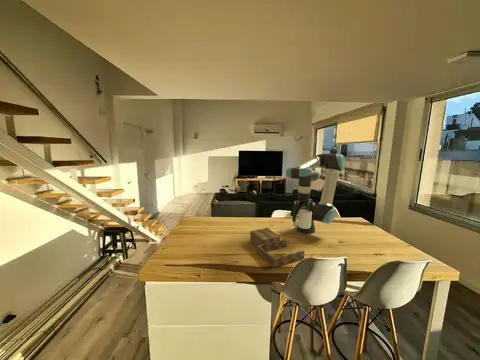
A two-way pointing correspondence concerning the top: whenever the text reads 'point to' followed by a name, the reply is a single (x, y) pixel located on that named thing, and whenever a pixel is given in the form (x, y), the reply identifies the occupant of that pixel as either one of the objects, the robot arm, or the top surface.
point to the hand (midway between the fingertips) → (301, 224)
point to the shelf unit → (272, 247)
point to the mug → (304, 219)
